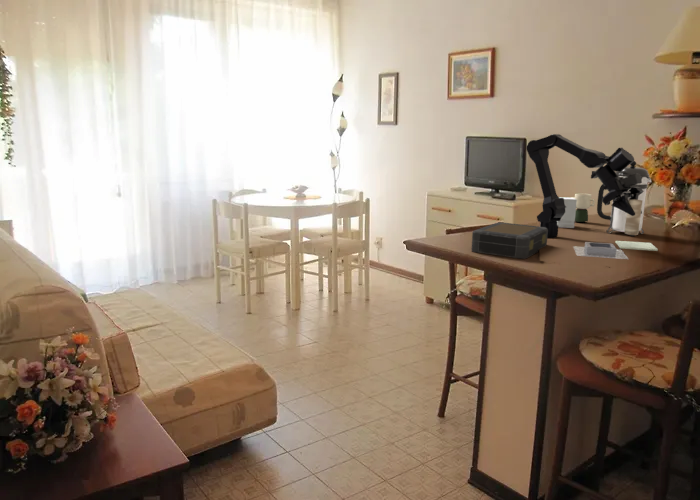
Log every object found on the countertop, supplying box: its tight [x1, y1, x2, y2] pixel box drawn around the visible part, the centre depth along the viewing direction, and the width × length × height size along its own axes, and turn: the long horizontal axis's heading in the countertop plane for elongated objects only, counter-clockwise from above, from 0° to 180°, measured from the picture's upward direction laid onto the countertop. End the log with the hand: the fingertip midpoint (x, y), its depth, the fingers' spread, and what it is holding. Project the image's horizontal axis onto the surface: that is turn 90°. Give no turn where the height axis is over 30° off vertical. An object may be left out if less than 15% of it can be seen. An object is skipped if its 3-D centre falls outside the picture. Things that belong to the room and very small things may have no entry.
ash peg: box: [624, 199, 642, 236], centre depth 204 cm, size 4×4×12 cm
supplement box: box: [557, 196, 577, 229], centre depth 255 cm, size 7×7×13 cm
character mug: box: [570, 192, 596, 223], centre depth 267 cm, size 11×7×13 cm, turn 47°
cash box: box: [471, 221, 548, 260], centre depth 207 cm, size 25×20×8 cm
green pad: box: [615, 240, 658, 252], centre depth 211 cm, size 12×12×2 cm
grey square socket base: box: [572, 241, 629, 260], centre depth 199 cm, size 16×16×4 cm
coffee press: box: [596, 160, 652, 238], centre depth 239 cm, size 17×16×30 cm
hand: (637, 214), depth 203 cm, fingers closed on ash peg, 4 cm apart
